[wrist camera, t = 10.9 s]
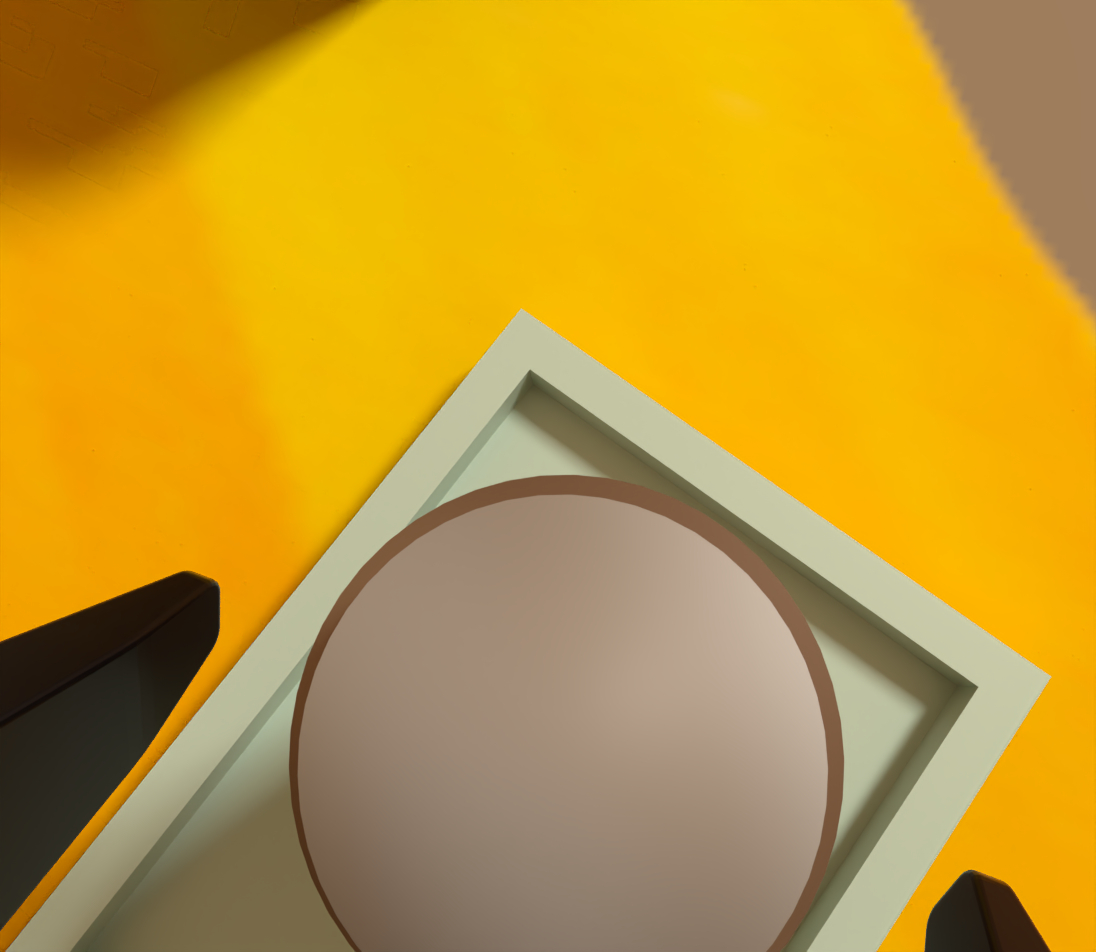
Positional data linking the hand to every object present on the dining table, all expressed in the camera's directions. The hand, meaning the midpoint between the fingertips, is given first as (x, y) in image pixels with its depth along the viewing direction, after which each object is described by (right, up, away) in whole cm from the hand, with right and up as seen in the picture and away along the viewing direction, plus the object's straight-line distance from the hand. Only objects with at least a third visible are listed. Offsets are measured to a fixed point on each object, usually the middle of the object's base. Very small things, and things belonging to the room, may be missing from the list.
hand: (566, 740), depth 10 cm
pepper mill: (0, -2, +8) cm, 8 cm away
